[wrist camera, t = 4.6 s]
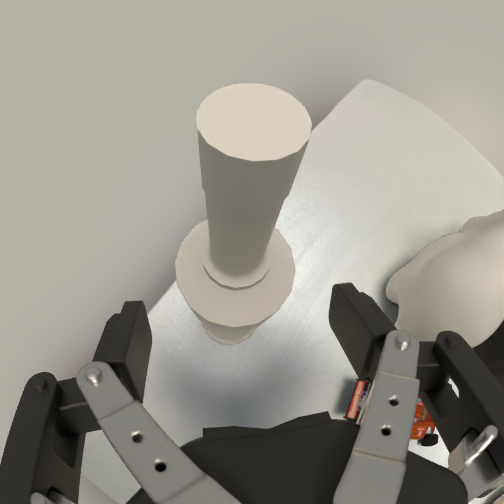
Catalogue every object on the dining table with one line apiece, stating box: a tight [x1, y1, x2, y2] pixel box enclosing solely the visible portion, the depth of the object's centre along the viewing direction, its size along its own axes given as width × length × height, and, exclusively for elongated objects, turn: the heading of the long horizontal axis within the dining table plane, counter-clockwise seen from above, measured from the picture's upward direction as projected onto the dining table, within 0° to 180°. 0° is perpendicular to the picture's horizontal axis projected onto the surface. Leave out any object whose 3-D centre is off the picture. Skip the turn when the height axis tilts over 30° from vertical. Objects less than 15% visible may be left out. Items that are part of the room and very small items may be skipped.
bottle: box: [175, 83, 312, 345], centre depth 17 cm, size 5×5×25 cm
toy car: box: [343, 377, 452, 446], centre depth 24 cm, size 8×16×4 cm, turn 71°
